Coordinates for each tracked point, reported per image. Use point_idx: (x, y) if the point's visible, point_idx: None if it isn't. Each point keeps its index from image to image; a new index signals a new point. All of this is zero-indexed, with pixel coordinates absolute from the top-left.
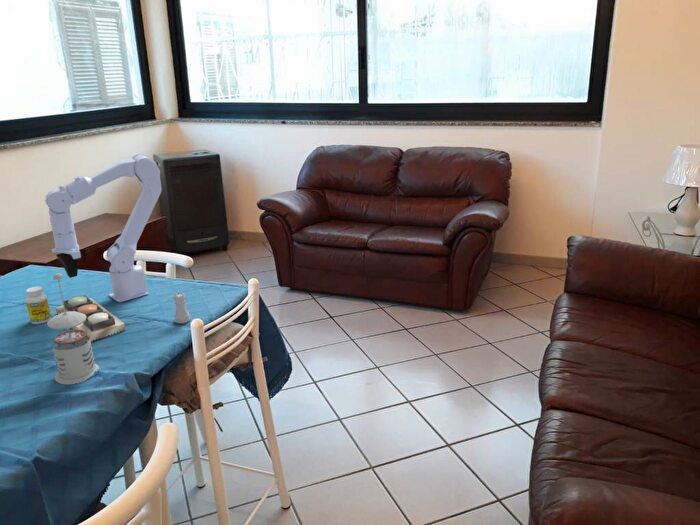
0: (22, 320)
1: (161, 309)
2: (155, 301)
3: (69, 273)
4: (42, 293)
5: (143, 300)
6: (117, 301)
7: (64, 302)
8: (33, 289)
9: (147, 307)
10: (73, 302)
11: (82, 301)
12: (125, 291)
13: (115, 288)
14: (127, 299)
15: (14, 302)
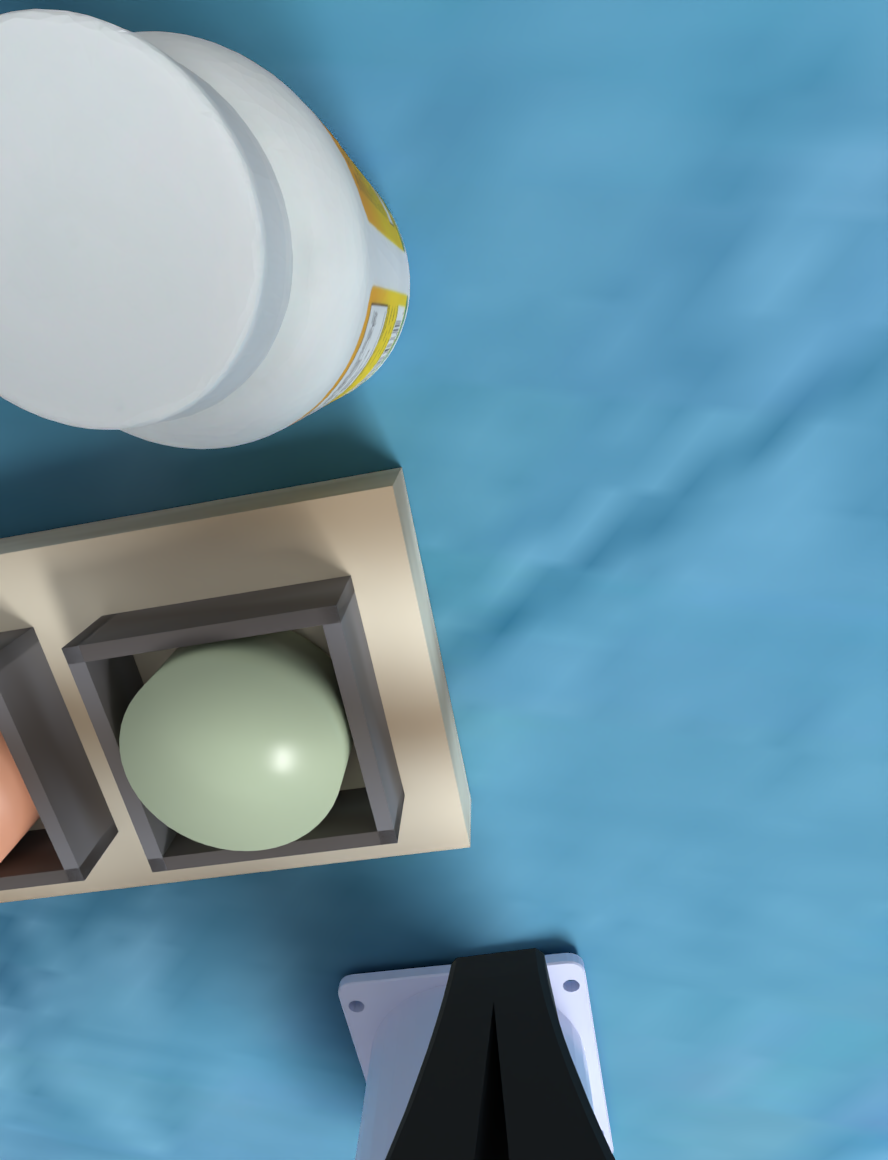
0: (429, 42)
1: (43, 1141)
2: (223, 1152)
3: (432, 1048)
4: (225, 398)
5: (294, 1104)
6: (363, 975)
7: (279, 617)
8: (62, 225)
9: (129, 1091)
10: (163, 711)
11: (144, 798)
12: (362, 1114)
13: (409, 1096)
14: (353, 1040)
15: None
